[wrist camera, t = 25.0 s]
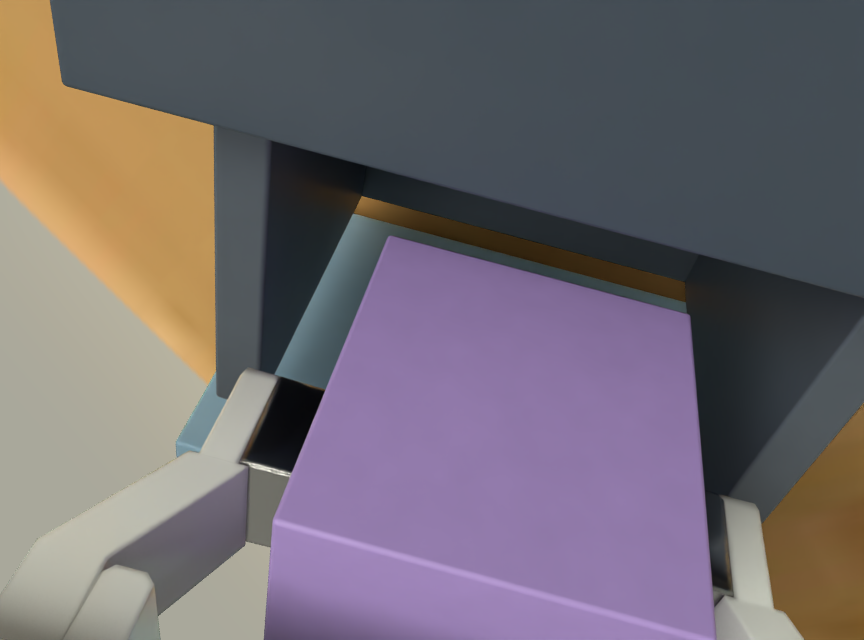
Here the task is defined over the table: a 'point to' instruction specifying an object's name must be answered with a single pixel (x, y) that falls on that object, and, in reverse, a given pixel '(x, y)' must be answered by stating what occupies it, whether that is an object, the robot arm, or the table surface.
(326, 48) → the drawer cabinet
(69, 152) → the table surface
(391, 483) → the purple block
